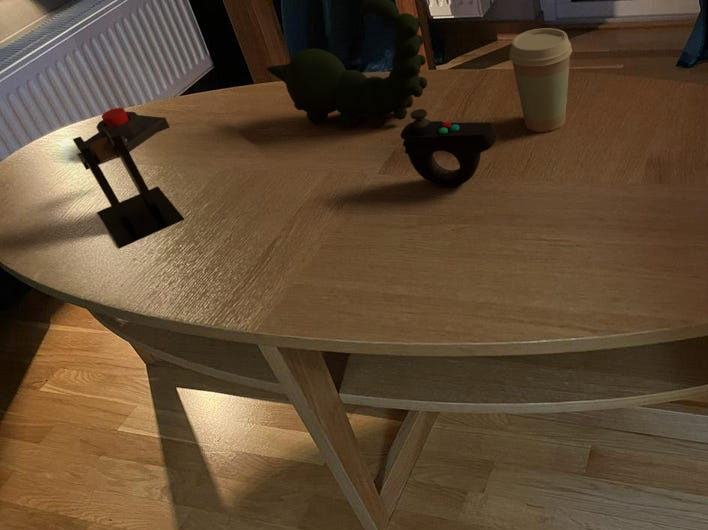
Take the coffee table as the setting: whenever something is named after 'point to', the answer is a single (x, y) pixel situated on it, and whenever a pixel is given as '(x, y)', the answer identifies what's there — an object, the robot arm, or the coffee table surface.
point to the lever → (102, 151)
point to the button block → (132, 130)
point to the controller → (446, 147)
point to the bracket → (136, 212)
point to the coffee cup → (542, 76)
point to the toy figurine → (358, 76)
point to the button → (115, 117)
